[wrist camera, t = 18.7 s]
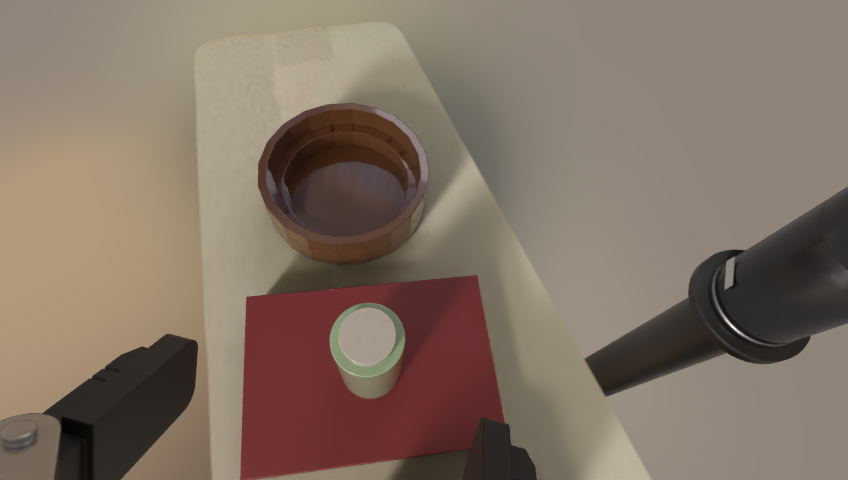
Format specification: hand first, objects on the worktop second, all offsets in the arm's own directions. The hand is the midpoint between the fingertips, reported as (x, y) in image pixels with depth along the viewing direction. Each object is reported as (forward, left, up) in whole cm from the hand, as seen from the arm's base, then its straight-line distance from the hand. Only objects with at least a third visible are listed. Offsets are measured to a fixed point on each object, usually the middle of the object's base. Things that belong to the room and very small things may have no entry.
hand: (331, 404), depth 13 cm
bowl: (0, -24, -29) cm, 38 cm away
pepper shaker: (-1, -6, -26) cm, 26 cm away
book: (-1, -6, -29) cm, 29 cm away
